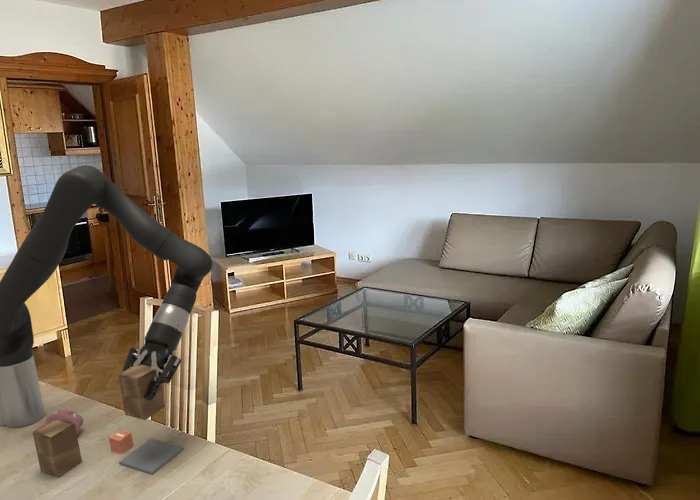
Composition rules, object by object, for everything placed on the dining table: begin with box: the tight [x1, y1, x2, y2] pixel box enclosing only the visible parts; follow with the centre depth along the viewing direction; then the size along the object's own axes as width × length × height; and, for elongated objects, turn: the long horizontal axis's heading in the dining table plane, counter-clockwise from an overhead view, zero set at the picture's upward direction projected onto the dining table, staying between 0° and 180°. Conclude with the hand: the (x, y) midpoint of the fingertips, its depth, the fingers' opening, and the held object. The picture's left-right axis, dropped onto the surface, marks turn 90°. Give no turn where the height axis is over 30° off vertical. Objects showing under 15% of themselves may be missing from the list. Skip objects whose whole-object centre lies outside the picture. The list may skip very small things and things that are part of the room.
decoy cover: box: [32, 418, 83, 478], centre depth 124 cm, size 6×6×10 cm
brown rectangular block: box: [118, 364, 166, 421], centre depth 123 cm, size 6×6×10 cm
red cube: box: [108, 429, 134, 455], centre depth 131 cm, size 4×4×4 cm
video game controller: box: [42, 409, 84, 436], centre depth 138 cm, size 10×5×7 cm, turn 75°
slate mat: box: [118, 437, 184, 476], centre depth 127 cm, size 10×10×1 cm
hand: (136, 396), depth 122 cm, fingers closed on brown rectangular block, 6 cm apart
